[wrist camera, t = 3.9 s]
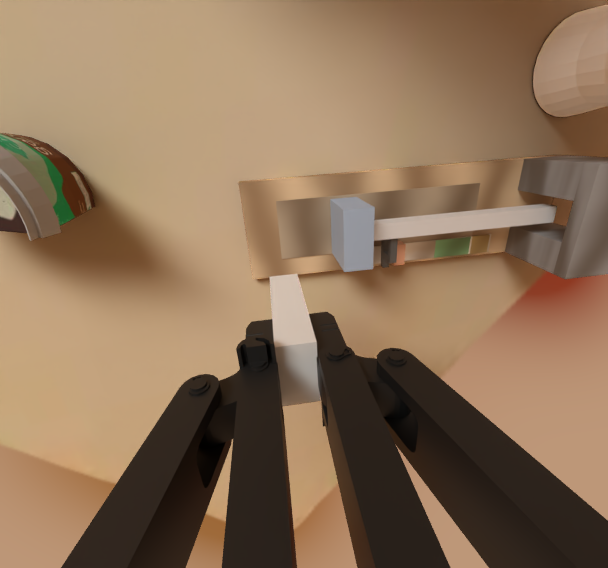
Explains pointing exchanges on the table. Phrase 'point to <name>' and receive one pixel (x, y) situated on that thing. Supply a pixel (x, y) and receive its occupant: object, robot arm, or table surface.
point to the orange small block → (400, 253)
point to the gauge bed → (435, 200)
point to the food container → (38, 187)
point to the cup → (574, 65)
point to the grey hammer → (412, 228)
